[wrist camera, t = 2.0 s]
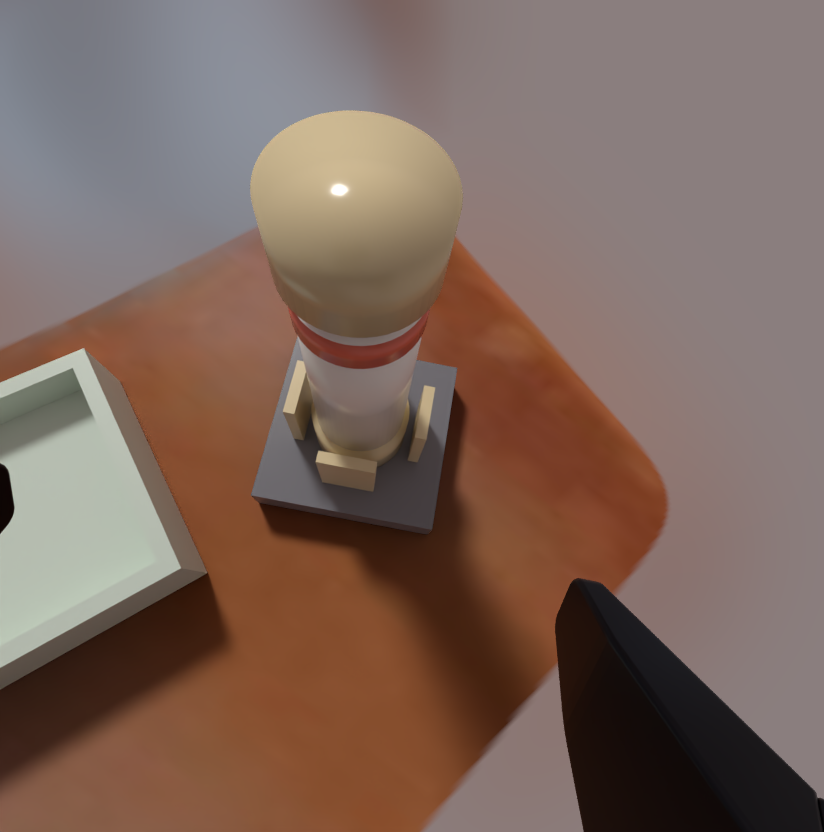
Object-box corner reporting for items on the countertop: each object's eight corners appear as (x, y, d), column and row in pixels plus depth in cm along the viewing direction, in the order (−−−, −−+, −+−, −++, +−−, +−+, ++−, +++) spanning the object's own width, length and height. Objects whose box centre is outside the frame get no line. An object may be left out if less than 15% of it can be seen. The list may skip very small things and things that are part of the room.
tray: (207, 572, 19) (181, 568, 16) (-54, 720, 17) (-138, 743, 14) (120, 381, 21) (83, 347, 19) (-121, 486, 19) (-204, 466, 16)
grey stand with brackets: (427, 534, 20) (444, 517, 16) (258, 502, 20) (231, 476, 16) (451, 382, 23) (471, 333, 19) (301, 352, 23) (287, 296, 18)
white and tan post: (396, 478, 20) (446, 294, 8) (306, 460, 19) (221, 249, 8) (412, 395, 21) (474, 133, 9) (327, 379, 21) (282, 93, 9)
